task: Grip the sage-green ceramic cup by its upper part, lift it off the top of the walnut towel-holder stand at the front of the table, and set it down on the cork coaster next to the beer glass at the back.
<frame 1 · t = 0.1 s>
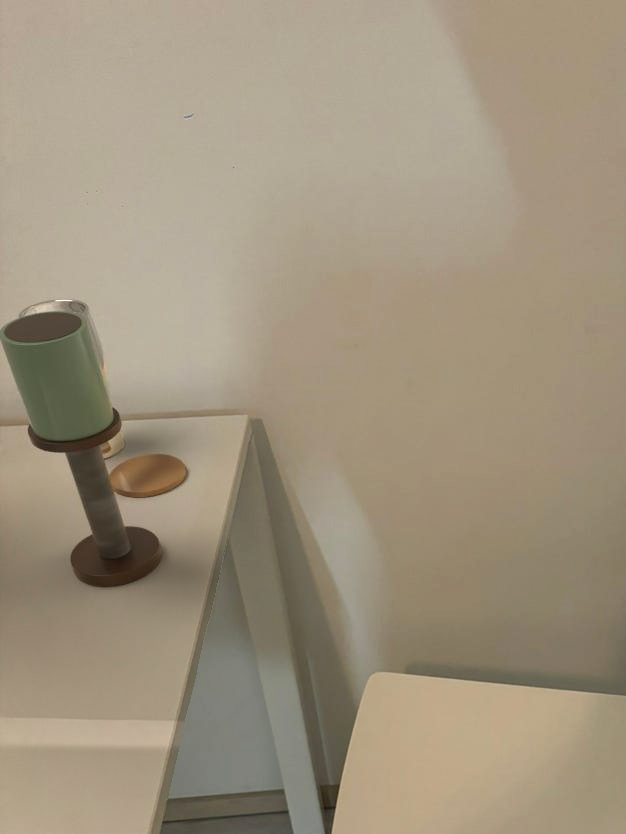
beer glass: (96, 449, 102), on the table
cup: (73, 422, 77), point 14 cm above the table, touching holder
coaster: (148, 477, 97), on the table
holder: (118, 560, 86), on the table
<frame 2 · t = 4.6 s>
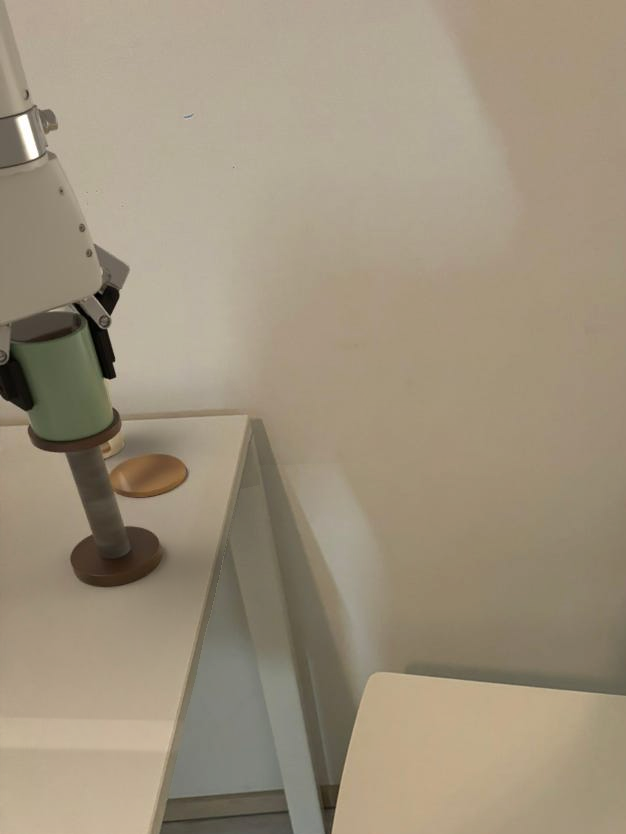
hand: (62, 387, 75), 17 cm above the table, tool pointing down, fingers closed on cup, 6 cm apart
cup: (73, 422, 77), point 14 cm above the table, touching gripper, holder
everything else where it was.
when the fingers open (4 cm above the table, at t = 14.2 s): cup stays where it is, resting on coaster.
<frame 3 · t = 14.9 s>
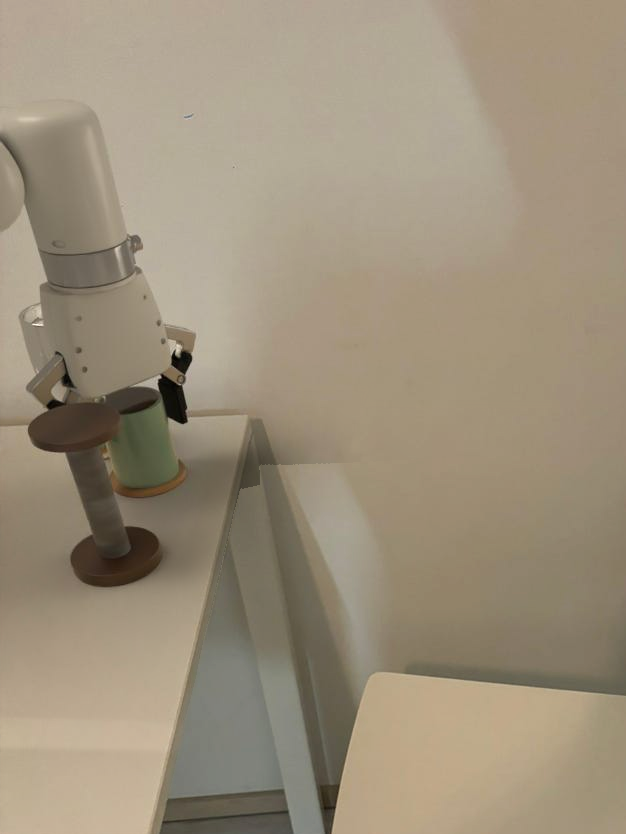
hand: (135, 436, 94), 5 cm above the table, tool pointing down, fingers open, 9 cm apart
cup: (148, 472, 96), point 1 cm above the table, touching coaster
everything else where it was.
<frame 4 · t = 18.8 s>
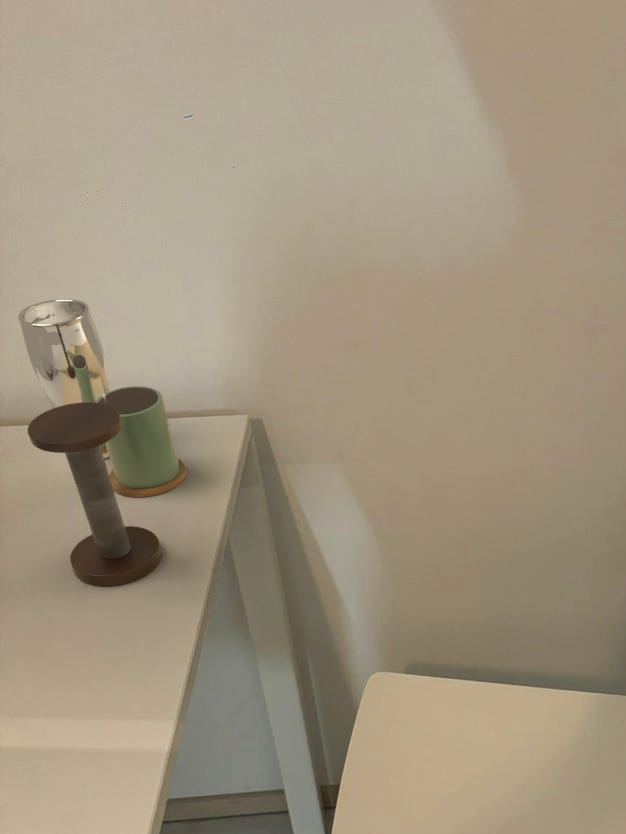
nothing on the table moved.
at the end: cup 0.1 cm off-centre on the coaster, point 0.6 cm above the coaster's base; cup tilted 0°; the gripper is holding nothing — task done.
